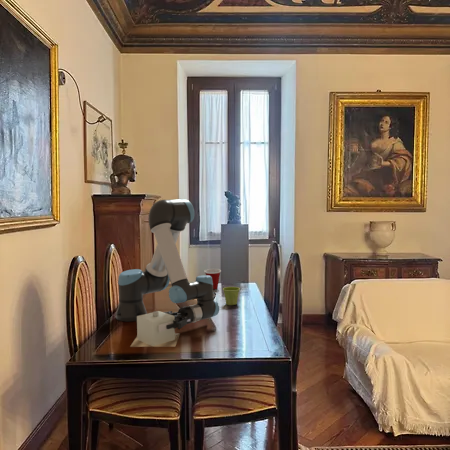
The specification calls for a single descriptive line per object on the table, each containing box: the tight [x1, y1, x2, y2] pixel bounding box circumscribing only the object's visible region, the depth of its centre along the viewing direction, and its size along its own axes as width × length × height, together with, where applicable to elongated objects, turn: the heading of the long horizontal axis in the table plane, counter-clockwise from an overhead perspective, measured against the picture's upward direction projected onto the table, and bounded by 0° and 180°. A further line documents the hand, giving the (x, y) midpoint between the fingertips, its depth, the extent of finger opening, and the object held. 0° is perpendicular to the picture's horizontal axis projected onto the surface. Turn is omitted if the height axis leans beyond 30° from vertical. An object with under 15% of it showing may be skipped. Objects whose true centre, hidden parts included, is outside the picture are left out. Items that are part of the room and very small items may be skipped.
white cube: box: [136, 310, 176, 346], centre depth 182 cm, size 11×11×12 cm
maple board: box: [129, 332, 181, 348], centre depth 183 cm, size 18×16×2 cm
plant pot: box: [222, 286, 241, 306], centre depth 245 cm, size 9×9×9 cm
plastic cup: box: [203, 268, 222, 290], centre depth 284 cm, size 11×11×12 cm
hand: (149, 325), depth 180 cm, fingers open, 13 cm apart
